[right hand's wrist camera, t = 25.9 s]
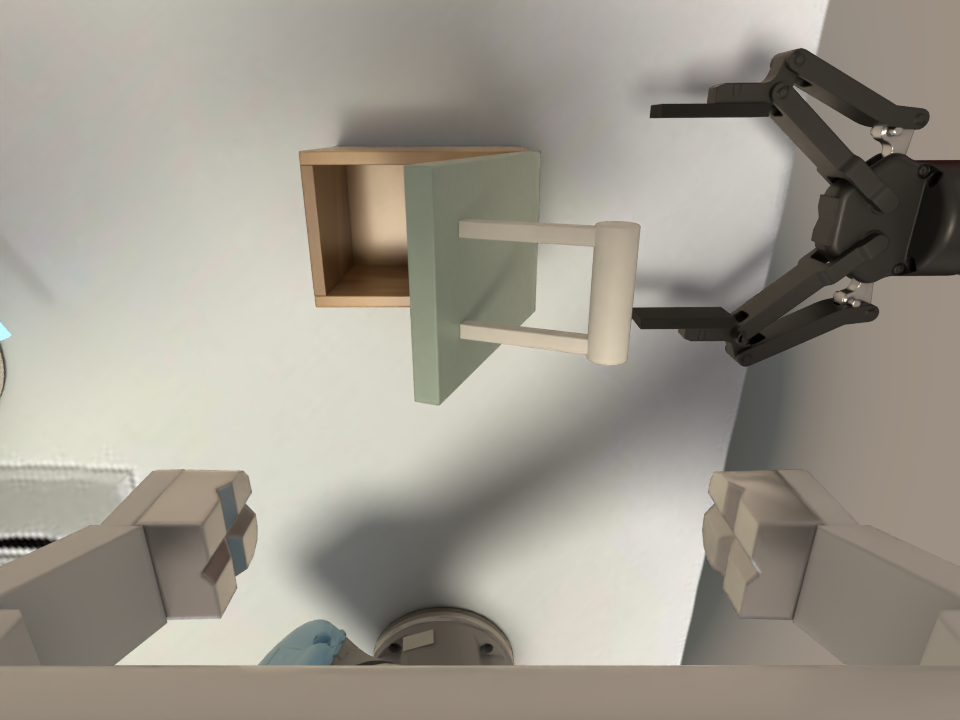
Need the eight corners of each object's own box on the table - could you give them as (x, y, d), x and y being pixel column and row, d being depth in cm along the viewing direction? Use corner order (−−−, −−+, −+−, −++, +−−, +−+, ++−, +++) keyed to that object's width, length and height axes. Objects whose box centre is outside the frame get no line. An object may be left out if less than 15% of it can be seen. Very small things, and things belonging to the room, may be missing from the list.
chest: (347, 273, 48) (315, 307, 39) (336, 146, 44) (298, 151, 35) (517, 272, 48) (526, 307, 39) (519, 146, 44) (530, 150, 35)
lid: (414, 402, 25) (612, 436, 22) (402, 165, 22) (637, 170, 19) (517, 309, 38) (651, 323, 35) (521, 151, 35) (671, 153, 32)
